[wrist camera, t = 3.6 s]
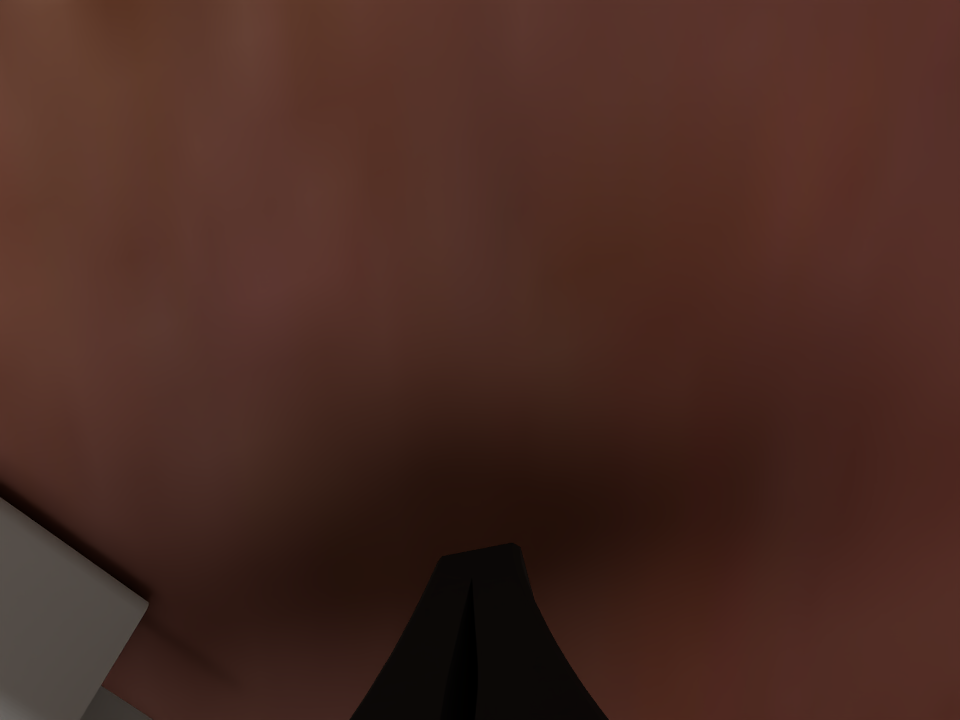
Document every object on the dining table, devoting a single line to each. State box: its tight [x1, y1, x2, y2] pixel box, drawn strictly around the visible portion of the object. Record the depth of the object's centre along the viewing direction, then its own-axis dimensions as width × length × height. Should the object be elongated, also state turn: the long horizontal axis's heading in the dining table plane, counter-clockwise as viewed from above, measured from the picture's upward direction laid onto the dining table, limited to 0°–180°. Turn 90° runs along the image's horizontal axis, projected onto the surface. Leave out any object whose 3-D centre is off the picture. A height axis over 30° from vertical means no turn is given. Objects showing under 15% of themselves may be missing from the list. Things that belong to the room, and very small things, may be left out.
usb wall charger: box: [0, 497, 153, 720], centre depth 13 cm, size 4×7×4 cm, turn 43°
